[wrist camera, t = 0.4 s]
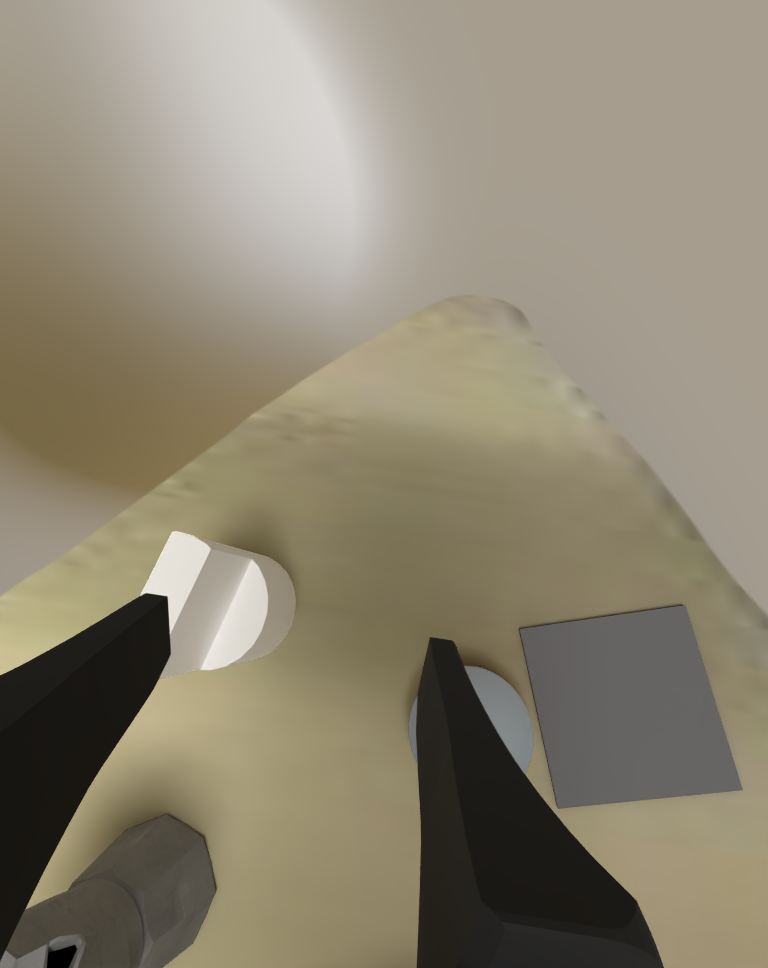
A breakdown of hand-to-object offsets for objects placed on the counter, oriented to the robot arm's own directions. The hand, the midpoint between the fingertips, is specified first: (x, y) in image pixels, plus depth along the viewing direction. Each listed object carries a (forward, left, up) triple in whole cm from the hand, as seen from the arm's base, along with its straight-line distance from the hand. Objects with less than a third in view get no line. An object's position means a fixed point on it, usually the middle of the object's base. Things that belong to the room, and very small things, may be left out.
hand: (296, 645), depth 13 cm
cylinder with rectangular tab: (+3, +13, -27) cm, 30 cm away
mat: (-8, -15, -26) cm, 31 cm away
